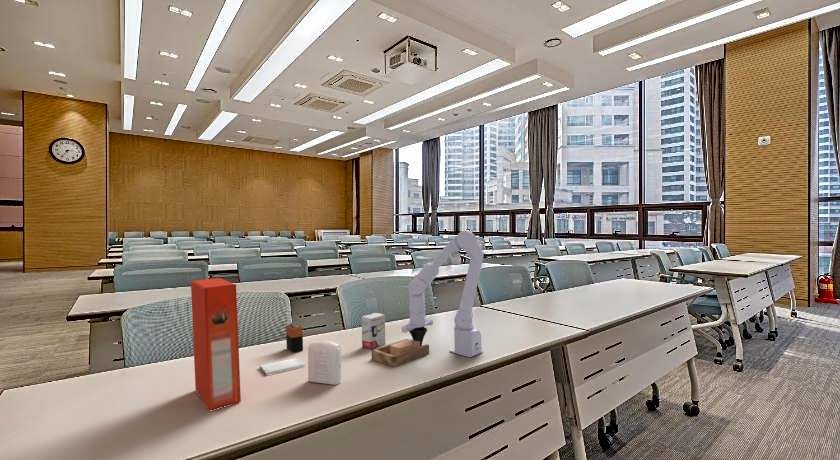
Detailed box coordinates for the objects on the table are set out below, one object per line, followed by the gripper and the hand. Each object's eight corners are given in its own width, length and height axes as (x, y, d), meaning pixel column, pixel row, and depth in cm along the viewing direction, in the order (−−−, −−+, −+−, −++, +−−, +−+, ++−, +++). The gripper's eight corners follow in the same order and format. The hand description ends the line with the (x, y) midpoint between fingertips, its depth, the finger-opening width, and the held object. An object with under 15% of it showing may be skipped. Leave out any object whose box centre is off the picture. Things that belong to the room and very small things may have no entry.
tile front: (410, 356, 141) (410, 344, 141) (399, 359, 137) (399, 348, 137) (400, 352, 144) (400, 342, 144) (390, 356, 141) (390, 345, 141)
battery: (297, 346, 155) (297, 320, 154) (303, 350, 149) (302, 324, 149) (286, 348, 152) (285, 322, 152) (291, 353, 146) (291, 326, 146)
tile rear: (420, 352, 144) (420, 341, 144) (410, 356, 141) (410, 344, 141) (410, 349, 148) (410, 338, 148) (400, 352, 144) (400, 342, 144)
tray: (429, 353, 143) (428, 344, 143) (393, 366, 131) (393, 357, 131) (407, 347, 151) (406, 338, 151) (371, 358, 139) (371, 349, 139)
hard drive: (266, 372, 125) (304, 363, 132) (259, 365, 132) (296, 357, 139) (266, 377, 125) (304, 368, 132) (259, 370, 132) (296, 361, 139)
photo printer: (343, 380, 120) (342, 340, 120) (336, 386, 116) (335, 344, 116) (314, 377, 123) (313, 337, 123) (306, 382, 119) (305, 341, 119)
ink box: (370, 349, 149) (369, 318, 149) (361, 347, 152) (360, 316, 152) (386, 343, 156) (385, 313, 155) (376, 341, 159) (376, 312, 158)
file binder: (207, 412, 102) (203, 287, 101) (194, 390, 115) (190, 280, 114) (240, 402, 107) (237, 284, 106) (224, 383, 120) (221, 277, 119)
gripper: (423, 306, 155) (423, 341, 155) (395, 313, 144) (396, 350, 145) (436, 309, 150) (437, 344, 150) (409, 316, 140) (409, 354, 140)
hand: (418, 347), depth 147 cm, fingers closed
